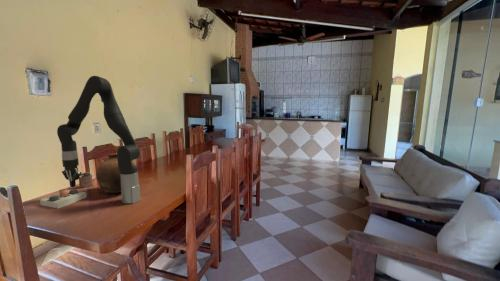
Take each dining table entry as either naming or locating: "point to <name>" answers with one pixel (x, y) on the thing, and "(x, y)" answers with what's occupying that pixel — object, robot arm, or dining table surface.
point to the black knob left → (53, 198)
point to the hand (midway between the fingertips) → (72, 186)
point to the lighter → (85, 180)
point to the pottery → (109, 175)
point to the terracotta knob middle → (63, 192)
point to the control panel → (63, 200)
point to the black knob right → (73, 191)
